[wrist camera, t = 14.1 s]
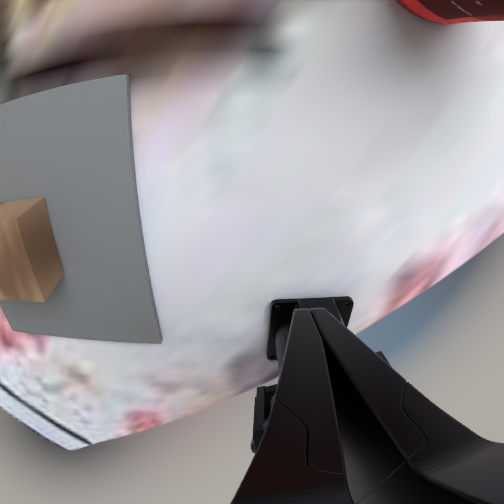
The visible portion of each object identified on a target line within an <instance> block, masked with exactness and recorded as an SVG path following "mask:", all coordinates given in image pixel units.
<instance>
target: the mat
mask: <svg viewBox="0 0 504 504" xmlns="http://www.w3.org/2000/svg"><path fill="white" fill-rule="evenodd" d="M39 197H44V200H45V204H46V209H47V213H48V217H49V221H50V225H51V229H52V233H53V237H54V240H55V244H56V247H57V251H58V254H59V257H60V261H61V264H62V267H63V270H64V274H63V276H62V277H61V279H60V280H59V282H58V283H57V285H56V286H55V288H54V289H53V291H52V292H51V294H50V295H49V297H48V298H47V300H46V302H32V301H17V300H4V299H0V306H1V308H2V310H3V312H4V314H5V316H6V318H7V320H8V322H9V324H10V326H11V328H12V330H14V331H20V332H27V333H35V334H43V335H51V336H60V337H69V338H79V339H90V340H103V341H117V342H135V343H158V344H161V342H162V335H161V331H160V327H159V322H158V317H157V313H156V308H155V303H154V298H153V293H152V288H151V282H150V277H149V271H148V266H147V260H146V254H145V247H144V241H143V234H142V227H141V220H140V212H139V204H138V196H137V187H136V178H135V167H134V156H133V143H132V128H131V108H130V74H124V75H117V76H111V77H105V78H99V79H94V80H89V81H84V82H79V83H75V84H70V85H66V86H62V87H57V88H53V89H50V90H46V91H42V92H39V93H35V94H32V95H28V96H25V97H22V98H18V99H15V100H12V101H9V102H6V103H3V104H0V203H3V202H10V201H17V200H24V199H31V198H39Z"/></svg>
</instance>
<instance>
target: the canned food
mask: <svg viewBox="0 0 504 504" xmlns="http://www.w3.org/2000/svg"><path fill="white" fill-rule="evenodd" d="M397 1H398V2H399V3H400V4H401V5H403V6H404V7H405V8H406V9H407V10H409V11H410V12H412V13H414V14H415V15H417V16H419V17H421V18H423V19H426V20H429V21H432V22H437V23H441V24H454V23H465V22H478V21H504V0H397Z"/></svg>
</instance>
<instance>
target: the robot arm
mask: <svg viewBox="0 0 504 504" xmlns="http://www.w3.org/2000/svg"><path fill="white" fill-rule="evenodd" d="M347 302H349V303H347ZM345 303H347V304H345ZM353 304H354V302H353V300H352V298H351V297H348V296H347V297H327V298H305V299H277V300H274V301H272V303H271V305H270V318H269V330H268V342H267V359H268V360H278V366H279V372H280V376H279V380H278V384H275V385H271V386H267V387H265V386H261V387H257V397H255V407H254V424H253V439H252V442H251V450H252V452H253V453H254V454H255V456H254V458H253V460H252V462H251V464H250V466H249V468H248V470H247V472H246V474H245V476H244V479H243V480H242V482H241V484H240V486H239V488H238V490H237V492H236V494H235V496H234V498H233V500H232V501H231V503H230V504H504V443H496V442H492V441H489V440H487V439H484V438H482V437H480V436H479V435H477V434H476V433H474V432H473V431H471V430H470V429H469V428H467V427H466V426H464V425H463V424H461V423H460V422H458V421H457V420H455V419H454V418H453V417H451V416H450V415H449V414H447V413H446V412H444V411H443V410H442V409H440V408H439V407H438V406H436V405H435V404H434V403H432V402H431V401H430V400H429V399H428V398H426V397H425V396H424V395H423V394H422V393H420V392H419V391H418V390H417V389H416V388H414V387H413V386H412V385H411V384H410V383H409V382H406V380H405V379H404V378H403V377H402V376H401V375H400V374H399V373H397V372H396V371H395V370H394V369H393V368H392V367H391V365H390V364H389V362H388V361H387V359H386V358H385V356H384V355H383V353H382V352H381V351H379V352H376V353H375V352H374V351H373V350H371V349H370V348H369V347H368V346H367V345H366V344H365V343H363V342H362V341H361V340H360V339H359V338H358V337H356V335H354V334H353V333H352V332H351V331H350V330H349V329H348V328H347V326H348V322H349V319H350V315H351V312H352V308H353ZM278 305H279V307H275V306H278Z"/></svg>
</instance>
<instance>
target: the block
mask: <svg viewBox="0 0 504 504" xmlns="http://www.w3.org/2000/svg"><path fill="white" fill-rule="evenodd" d="M63 274H64V270H63V267H62V264H61V261H60V257H59V254H58V251H57V247H56V244H55V240H54V237H53V233H52V229H51V225H50V221H49V217H48V213H47V209H46V204H45V200H44V197H39V198H31V199H24V200H17V201H10V202H3V203H0V299H4V300H17V301H32V302H46V300H47V298H48V297H49V295H50V294H51V292H52V291H53V289H54V288H55V286H56V285H57V283H58V282H59V280H60V279H61V277H62V276H63Z"/></svg>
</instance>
